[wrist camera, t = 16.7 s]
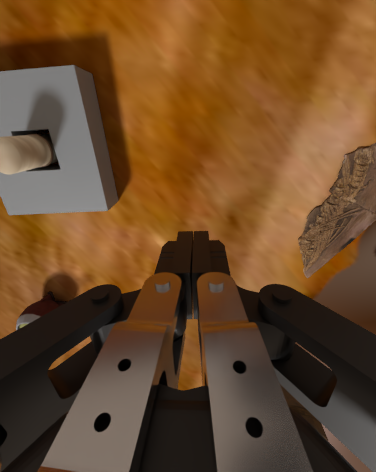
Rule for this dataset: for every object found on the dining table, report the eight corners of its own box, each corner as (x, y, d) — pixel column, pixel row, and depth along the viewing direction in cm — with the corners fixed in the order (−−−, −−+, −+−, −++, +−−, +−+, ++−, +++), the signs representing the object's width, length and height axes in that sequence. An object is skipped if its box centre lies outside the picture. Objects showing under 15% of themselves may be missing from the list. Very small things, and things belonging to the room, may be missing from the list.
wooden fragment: (360, 127, 32) (365, 127, 31) (424, 152, 33) (431, 153, 32) (274, 266, 44) (276, 269, 43) (324, 281, 45) (327, 285, 44)
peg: (40, 133, 34) (-24, 137, 24) (66, 131, 34) (12, 134, 24) (49, 162, 36) (-7, 176, 26) (74, 160, 36) (27, 174, 26)
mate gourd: (34, 289, 48) (-30, 353, 35) (69, 290, 48) (19, 354, 35) (44, 315, 52) (-10, 381, 38) (77, 315, 51) (34, 383, 38)
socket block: (-18, 83, 31) (-54, 76, 27) (92, 73, 30) (73, 64, 26) (30, 204, 39) (8, 215, 35) (118, 200, 38) (107, 210, 34)
